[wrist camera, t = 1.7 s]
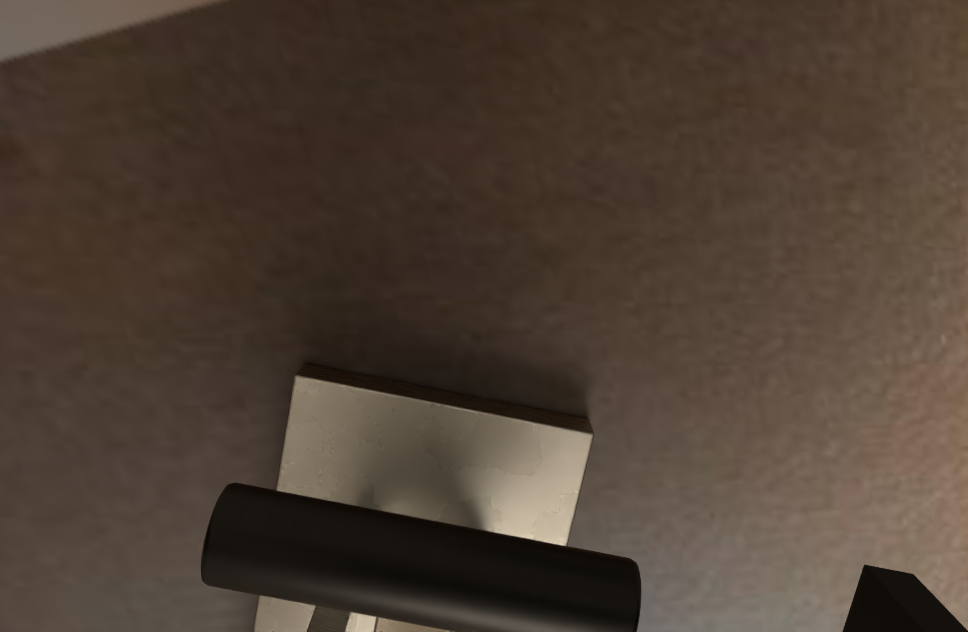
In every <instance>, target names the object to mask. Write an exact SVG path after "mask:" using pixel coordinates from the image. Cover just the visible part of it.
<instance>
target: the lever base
mask: <svg viewBox="0 0 968 632" xmlns="http://www.w3.org/2000/svg"><path fill="white" fill-rule="evenodd" d="M593 438H594V432H593V429H592V426H591V423H590V420H589V419H585V418H580V417H575V416H570V415H565V414H560V413H555V412H550V411H545V410H540V409H535V408H529V407H524V406H519V405H514V404H509V403H504V402H499V401H494V400H489V399H484V398H479V397H474V396H469V395H464V394H459V393H453V392H448V391H443V390H438V389H433V388H428V387H423V386H418V385H413V384H408V383H403V382H398V381H393V380H388V379H383V378H377V377H372V376H367V375H362V374H357V373H352V372H347V371H342V370H337V369H332V368H327V367H322V366H317V365H312V364H307V363H305V364H303V366H302V367H301V368H300V370H299V371H298V372H297V373H296V375H295V376H294V382H293V388H292V394H291V400H290V406H289V413H288V419H287V425H286V431H285V437H284V443H283V449H282V456H281V462H280V468H279V474H278V480H277V486H276V490H277V491H282V492H287V493H292V494H297V495H303V496H308V497H313V498H318V499H324V500H329V501H334V502H339V503H344V504H350V505H355V506H360V507H365V508H370V509H376V510H381V511H386V512H391V513H396V514H402V515H407V516H412V517H417V518H422V519H428V520H433V521H438V522H443V523H449V524H454V525H459V526H464V527H469V528H475V529H480V530H485V531H490V532H495V533H501V534H506V535H511V536H516V537H521V538H527V539H532V540H537V541H542V542H547V543H553V544H558V545H563V546H567V545H568V541H569V537H570V533H571V528H572V524H573V520H574V516H575V512H576V508H577V504H578V500H579V496H580V492H581V487H582V483H583V479H584V475H585V471H586V467H587V463H588V459H589V455H590V451H591V446H592V442H593ZM375 620H376V617H373V616H368V615H362V614H357V613H352V612H346V611H341V610H336V609H330V608H325V607H320V606H314V605H309V604H304V603H298V602H293V601H288V600H282V599H277V598H272V597H266V596H261V595H259V597H258V603H257V610H256V616H255V622H254V628H253V632H373V631H374V626H375ZM451 632H453V631H451Z"/></svg>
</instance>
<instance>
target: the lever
mask: <svg viewBox="0 0 968 632" xmlns="http://www.w3.org/2000/svg"><path fill="white" fill-rule="evenodd" d="M201 577H202V581H203V582H204V583H205V584H207V585H208V586H213V587H218V588H224V589H229V590H234V591H240V592H245V593H250V594H256V595H261V596H266V597H272V598H277V599H282V600H288V601H293V602H298V603H304V604H309V605H314V606H320V607H325V608H330V609H336V610H341V611H346V612H352V613H357V614H362V615H368V616H373V617H376V620H375V626H374V631H373V632H451V631H453V632H637V628H638V623H639V617H640V608H641V579H640V572H639V568H638V565H637V563H636V562H635V561H633V560H632V559H630V558H626V557H620V556H615V555H610V554H605V553H600V552H594V551H589V550H584V549H579V548H573V547H568V546H563V545H558V544H553V543H547V542H542V541H537V540H532V539H527V538H521V537H516V536H511V535H506V534H501V533H495V532H490V531H485V530H480V529H475V528H469V527H464V526H459V525H454V524H449V523H443V522H438V521H433V520H428V519H422V518H417V517H412V516H407V515H402V514H396V513H391V512H386V511H381V510H376V509H370V508H365V507H360V506H355V505H350V504H344V503H339V502H334V501H329V500H324V499H318V498H313V497H308V496H303V495H297V494H292V493H287V492H282V491H277V490H271V489H266V488H261V487H256V486H251V485H245V484H240V483H231V484H228V485H227V486H226V487H225V489H224V490H223V492H222V493H221V495H220V497H219V498H218V500H217V503H216V505H215V507H214V510H213V512H212V515H211V518H210V521H209V525H208V528H207V532H206V536H205V540H204V545H203V550H202V557H201Z"/></svg>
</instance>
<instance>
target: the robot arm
mask: <svg viewBox="0 0 968 632" xmlns="http://www.w3.org/2000/svg"><path fill="white" fill-rule="evenodd" d="M843 632H968V631H967V630H966V629H965V628H964V627H963V625H962V624H961V623H960V622H959V621H958V620H957V619H956V618H955V617H954V616H953V615H952V614H951V613H950V612H949V611H948V610H947V609H946V608H945V607H944V606H943V605H942V604H941V603H940V601H939V600H938V599H937V598H936V597H935V596H934V595H933V594H932V593H931V592H930V591H929V590H928V589H927V588H926V587H925V586H924V585H923V584H922V583H921V582H920V581H919V580H918V579H917V578H916V576H915V575H914V574H910V573H905V572H900V571H894V570H889V569H884V568H879V567H874V566H868V565H864V567H863V570H862V573H861V576H860V580H859V583H858V586H857V589H856V592H855V595H854V598H853V601H852V604H851V607H850V611H849V614H848V617H847V620H846V623H845V626H844V629H843Z"/></svg>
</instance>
